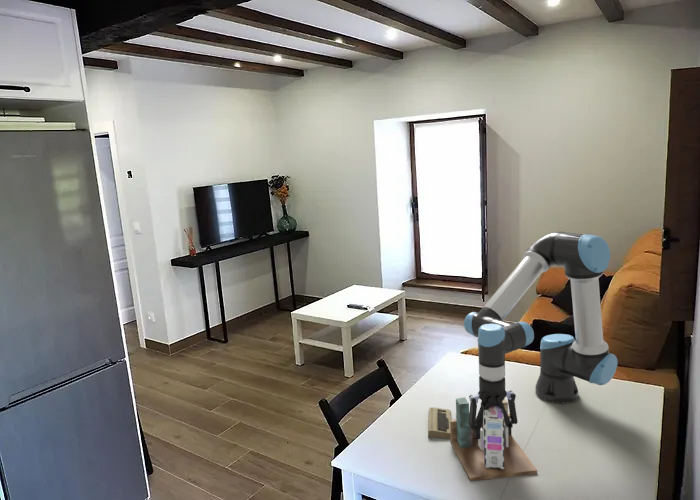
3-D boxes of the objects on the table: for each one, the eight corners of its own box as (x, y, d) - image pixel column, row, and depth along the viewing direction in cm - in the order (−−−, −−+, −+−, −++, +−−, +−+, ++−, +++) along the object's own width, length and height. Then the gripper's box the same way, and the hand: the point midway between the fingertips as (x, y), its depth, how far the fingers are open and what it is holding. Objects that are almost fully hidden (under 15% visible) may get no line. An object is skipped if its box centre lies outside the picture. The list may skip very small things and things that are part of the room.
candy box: (505, 470, 146) (504, 418, 143) (484, 468, 148) (483, 417, 145) (502, 443, 160) (501, 395, 157) (483, 442, 161) (482, 395, 158)
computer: (452, 439, 166) (452, 430, 166) (428, 438, 168) (427, 429, 167) (451, 415, 182) (450, 406, 181) (428, 414, 183) (428, 406, 183)
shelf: (510, 436, 165) (509, 391, 162) (537, 473, 146) (537, 422, 143) (450, 442, 164) (449, 397, 161) (470, 480, 144) (469, 430, 142)
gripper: (519, 367, 153) (519, 435, 158) (455, 374, 152) (457, 442, 156) (530, 378, 146) (530, 449, 150) (463, 385, 145) (465, 457, 149)
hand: (493, 446), depth 153 cm, fingers closed on candy box, 7 cm apart
